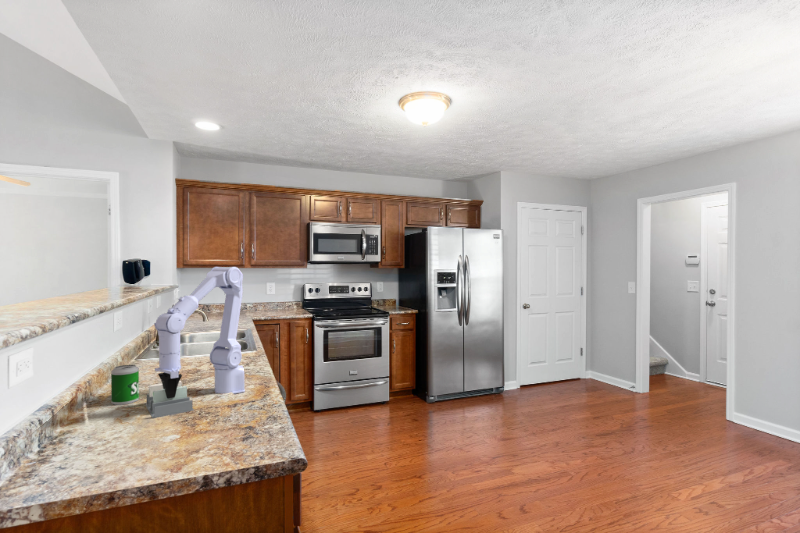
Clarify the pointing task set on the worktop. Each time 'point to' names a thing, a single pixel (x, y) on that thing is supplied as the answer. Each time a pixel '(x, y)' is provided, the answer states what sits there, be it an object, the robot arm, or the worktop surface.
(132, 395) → the soda can
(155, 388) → the white rectangular block
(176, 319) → the robot arm
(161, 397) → the celadon plate
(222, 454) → the worktop surface
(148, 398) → the dish rack
